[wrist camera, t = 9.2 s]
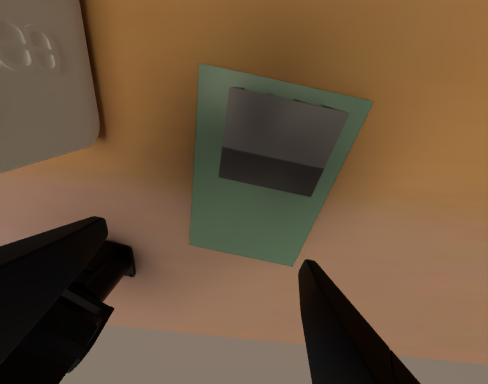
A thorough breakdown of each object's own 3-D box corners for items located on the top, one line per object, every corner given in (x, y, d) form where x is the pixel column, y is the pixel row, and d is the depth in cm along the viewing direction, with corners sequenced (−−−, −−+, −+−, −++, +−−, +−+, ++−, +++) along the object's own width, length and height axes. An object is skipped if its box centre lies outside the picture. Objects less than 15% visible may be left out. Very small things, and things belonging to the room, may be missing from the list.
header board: (291, 261, 24) (296, 288, 21) (191, 240, 24) (180, 263, 21) (368, 101, 15) (399, 102, 11) (202, 64, 15) (184, 55, 11)
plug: (301, 172, 17) (311, 197, 14) (228, 157, 17) (218, 177, 14) (327, 105, 14) (349, 113, 10) (239, 86, 14) (229, 86, 10)
